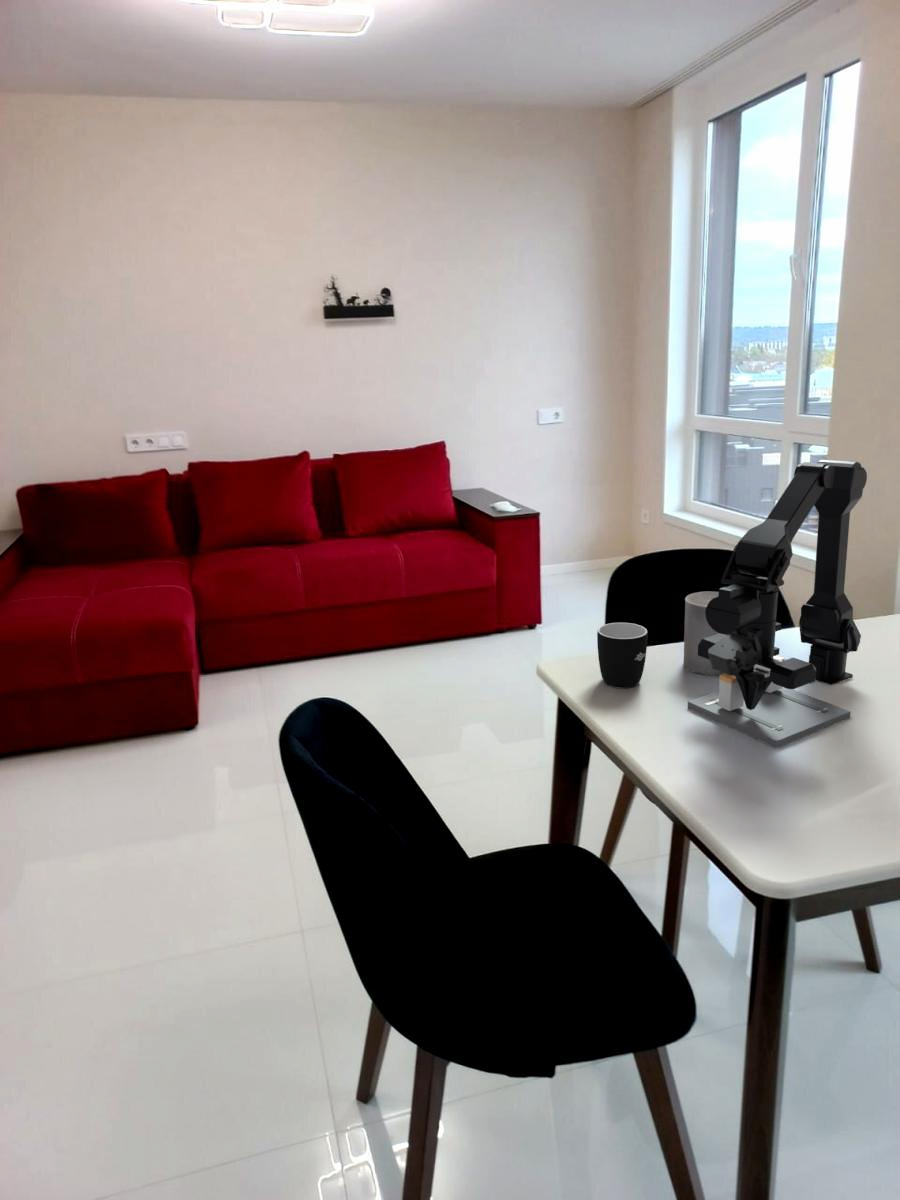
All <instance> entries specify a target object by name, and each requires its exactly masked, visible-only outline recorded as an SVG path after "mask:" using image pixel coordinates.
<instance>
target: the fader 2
mask: <svg viewBox="0 0 900 1200" xmlns="http://www.w3.org/2000/svg"><path fill="white" fill-rule="evenodd" d="M773 658H775V659H778V660H781V661H784V660H786V658H785V657H782V656H779V655H776V656H773ZM779 689H782V687H781V686H779V685H776V684H773V682H771V684H770V685H769V686H768V688H767V689H766V692H768V693H771V692H774V691H776V690H779Z"/></svg>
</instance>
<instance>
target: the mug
mask: <svg viewBox="0 0 900 1200" xmlns="http://www.w3.org/2000/svg"><path fill="white" fill-rule="evenodd" d="M648 634H649V633H648V630H647V628H645V627H644V626H642V625H639V624H636V623H630V622H611V623H607V624H603V625H600V626H599V627H598V628H597V633H596V638H597V641H596V644H597V654H598V655H597V656H598V663H599V664H598V665H599V671H600V675H601V678H602V680H603V681H604V684H606V685H607V686H609V687H612V688H616V689H628V688H634V687H636V686H637V685H638V684H639V683H640V681H641V679H642V676H643V674H644V670H645V663H646V659H647V658H646V657H647V648H648Z"/></svg>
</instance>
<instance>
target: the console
mask: <svg viewBox="0 0 900 1200" xmlns="http://www.w3.org/2000/svg"><path fill="white" fill-rule="evenodd" d="M718 702H719V690H718V691H715V692H712V693H708V694H705V695H703V696H700V697H697V698H694V699H691V700H688V701H687V708H688V709H690V710H692V711H694V712H696V713H698V714H701V715H703V716H704V717H707V718H709V719H712V720H714V721H716V722H718V723H720V724H723V725H725V726H727V727H729V728H731V729H733V730H736V731H737V732H740V733H742V734H743V735H747V736H748V737H751V738H753V739H755V740H756V741H757V740H758V741H760V742H762V743H764V744H766V745H769V746H770V747H773V748H775V749H778V748H779V747H782V746H785V745H788V744H789V743H792V742H794V741H797V740H799V739H802V738H805V737H806V736H810V735H812V734H815V733H817V732H819V731H822V730H824V729H827V728H829V727H832V726H834V725H837V724H839V723H842V722H843V721H844V722H845V721H846V720H849V719H850V718H851V716H852V715H851V714H852V711H851V710H848V709H846V708H843V707H841V706H838V705H835V704H833V703H830V702H827V701H825V700H821V699H819V698H816V697H815V696H811V695H809V694H807V693H804V692H801V691H798V690H795V689H787V688H784V687H782V689H779V690H776V691H774V692H771V693H768V692H766V691H765V692H764V694H763V696H762V697H761V699H760V701H759V702H758V704H757V706H756V707H755V709H753V710H749V709H747V708H746V705H745V701H743V707H740V708H737V709H734V710H731V711H728V710H726V709H724V708H721V707H719V706H718Z"/></svg>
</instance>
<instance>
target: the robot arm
mask: <svg viewBox="0 0 900 1200" xmlns="http://www.w3.org/2000/svg"><path fill="white" fill-rule="evenodd" d="M867 480H868V475H867V470H866V469H865V468H864V467H863V466H862V464H861V463H860V462H859V461H849V460H848V461H847V460H834V459H820V460H818V461H817V462H807V461H805V462H801V463H798V464H797V466H796V467H795V469H794V473H793V477H792V479H791V480H790V482H789V484H788V485H787V487H786V488H785V489H784V491H783V493H782V494H781V495H780V497H779V499H778V500H777V502H776V503H775V505H774V507H773V508H772V509H771V511H770V513H769V514H768V515H767V517H766V518H765V520H764V521H763V522H762V523H760V524H758V525H756V526H753V527H752V528H750V529H749V530H748V531H746V533H745V534H744V535H743V536H742V537H741V538H740V539H739V540H738V542H737V544H736V545H734V547H733V550H732V552H731V555H730V557H729V560H728V563H727V565H726V567H725V569H724V572H723V574H722V576H721V578H720V583H721V584H725V585H728V586H723V587H720V588H719V589H718V592H719V594H718V597H716V598H713V599H712V600H711V601H710V602H709V603H708V605H707V608H706V609H705V616H706V620H707V622H708V624H709V625H710V627H711V628H712V629H713V630H715V631H716V632H718V633H719V634H716V635H713V636H710V637H706V638H703V639H702V640H701V641H700V642H699V644H698V653H697V654H698V656H701V657H704V658H706V659H709V660H710V662H711V666H712V668H713V669H714V670H719V671H722V672H725V673H726V674H727V675H734V676H735V677H736V679H737V681H738V683H739V686H740V689H741V692H742V695H743V698H744V701H745V705H746V708H747V709H749V710H753V709H755V707H756V706H757V704H758V702H759V701H760V699H761V697H762V696H763V694H764V692H765V691H766V689H767V688H768V686H769V685H770V684H771V682H773V684H776V685H779V686H781V687H784V688H787V689H793V690H795V689H798V688H800V687H803V686H806V685H809V684H811V683H814V682H816V681H818V682H820V683H824V684H827V685H828V686H829V685H830V686H834V685H835V684H838V683H841V682H844V681H846V680H849V679H852V678H853V677H854V675H853V673H850V672H847V671H846V668H847V667H846V666H847V659H848V658H847V656H848V653H850V652H851V653H853V652H858V648H859V646H860V643H861V637H862V634H861V633H860V631H859V629H858V626H857V625H856V623H855V620H854V607H853V606H852V604H851V602H850V600H849V599H848V596H847V595H846V594H845V584H846V583H845V582H846V570H847V569H846V568H847V558H848V556H847V555H848V544H849V543H848V542H849V531H850V521H851V520H850V519H851V518H850V517H851V516H850V515H851V512H852V511H853V509H854V508H855V506H856V505H857V504H858V502H860V500H861V499H862V497H863V492H864V491H863V490H864V489H865V487H866V484H867ZM813 508H815V509H816V512H817V513H818V519H817V521H818V522H817V535H816V536H817V538H816V551H815V553H816V554H815V565H814V567H815V568H814V585H813V594H812V595H811V596H810V597H809V598H808V600H807V601H806V602H805V603H803V604H802V606H801V607H800V617H799V621H798V625H799V626H798V628H799V633H800V634H799V635H800V642H801V643H803V644H809V645H810V649H809V650H810V652H809V655H808V662H807V661H805V660H802V659H798V658H795V657H790V658H788V659H785V660H784V661H781V660H778V659H775V658H773V656H779V655H780V648H779V647H776V646H775V642H776V641H775V640H776V632H779V631H781V630H782V623H779V622H777V617H778V616H777V613H778V601H779V587H781V586H783V585H784V584H785V581H784V579H783V577H784V575H785V574H786V572H787V570H788V568H789V566H790V563H791V560H792V557H793V555H794V554H793V547H792V542H793V540H794V538H795V537H796V535H797V534H798V532H799V530H800V529H801V527H802V526H803V523H804V522H805V520H806V518H807V517H808V516H809V515H810V512H811V511H812V509H813ZM738 572H739V573H740V574H737V573H738ZM753 576H754V577H753ZM724 634H729V635H728V636H727V635H724Z"/></svg>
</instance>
